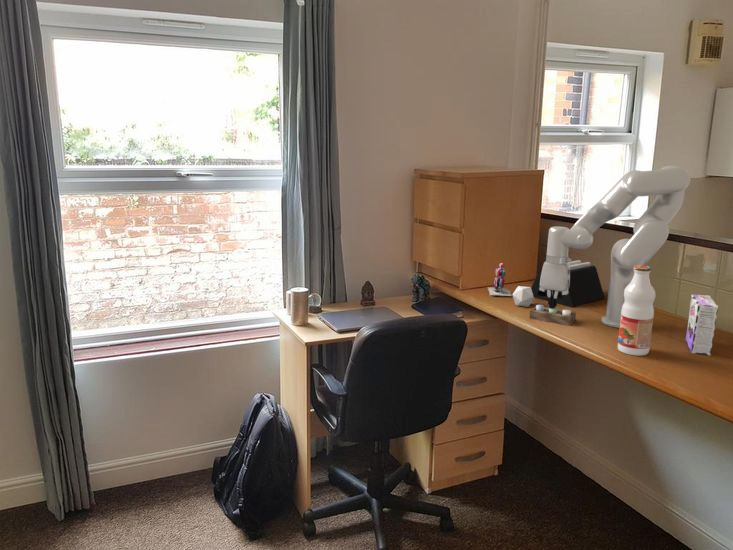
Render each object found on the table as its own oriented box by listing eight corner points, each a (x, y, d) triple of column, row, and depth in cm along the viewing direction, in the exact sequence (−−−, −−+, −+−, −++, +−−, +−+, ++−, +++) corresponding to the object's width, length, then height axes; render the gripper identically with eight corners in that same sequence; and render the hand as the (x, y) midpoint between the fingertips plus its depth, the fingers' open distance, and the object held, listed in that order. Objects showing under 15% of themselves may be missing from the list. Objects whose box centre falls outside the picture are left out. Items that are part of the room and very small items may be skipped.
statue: (511, 300, 251) (515, 267, 246) (490, 299, 251) (493, 266, 246) (508, 290, 261) (511, 259, 256) (487, 289, 262) (489, 258, 256)
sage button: (557, 316, 220) (558, 307, 219) (555, 318, 217) (556, 309, 216) (549, 315, 221) (550, 306, 220) (547, 316, 219) (548, 308, 218)
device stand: (527, 296, 253) (530, 262, 249) (559, 288, 265) (562, 257, 262) (572, 308, 235) (575, 272, 231) (604, 299, 248) (607, 265, 244)
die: (535, 305, 240) (525, 285, 243) (539, 300, 232) (529, 279, 234) (517, 313, 240) (507, 292, 242) (521, 308, 231) (510, 286, 234)
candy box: (684, 339, 197) (691, 293, 193) (704, 342, 195) (711, 295, 191) (690, 353, 185) (697, 303, 181) (711, 355, 183) (719, 305, 179)
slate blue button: (544, 314, 222) (545, 305, 222) (542, 316, 220) (542, 307, 219) (537, 312, 224) (537, 304, 223) (534, 314, 222) (535, 306, 221)
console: (575, 320, 218) (576, 312, 218) (569, 325, 212) (570, 317, 211) (536, 313, 227) (537, 306, 226) (529, 318, 220) (529, 310, 220)
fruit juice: (651, 357, 181) (661, 270, 174) (618, 354, 184) (627, 268, 177) (646, 347, 189) (656, 264, 183) (615, 344, 192) (624, 262, 186)
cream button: (571, 318, 217) (571, 309, 216) (568, 320, 214) (569, 311, 214) (563, 317, 218) (563, 308, 218) (560, 319, 216) (561, 310, 215)
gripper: (580, 261, 213) (575, 308, 217) (540, 255, 221) (536, 301, 226) (574, 264, 207) (569, 313, 211) (533, 259, 215) (529, 306, 220)
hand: (552, 307), depth 218 cm, fingers closed
